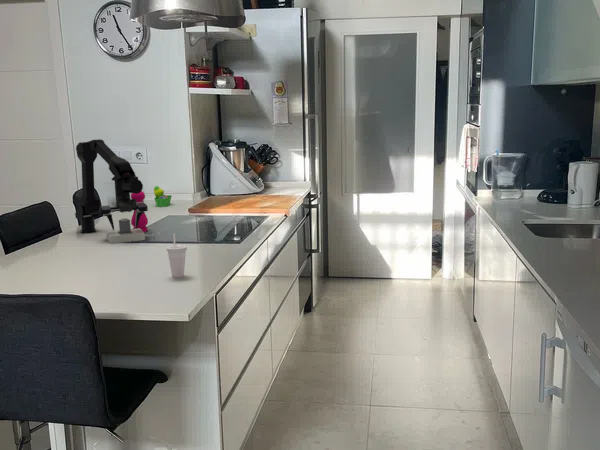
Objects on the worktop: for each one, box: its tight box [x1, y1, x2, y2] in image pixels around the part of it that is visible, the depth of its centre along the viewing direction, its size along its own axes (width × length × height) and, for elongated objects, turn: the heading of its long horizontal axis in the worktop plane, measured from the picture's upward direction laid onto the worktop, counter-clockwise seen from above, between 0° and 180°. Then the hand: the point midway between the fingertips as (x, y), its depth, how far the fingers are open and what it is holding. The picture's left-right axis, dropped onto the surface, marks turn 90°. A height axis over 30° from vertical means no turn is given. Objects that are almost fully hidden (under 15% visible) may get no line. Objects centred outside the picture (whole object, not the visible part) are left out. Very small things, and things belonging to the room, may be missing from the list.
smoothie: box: [166, 233, 188, 279], centre depth 191 cm, size 6×6×14 cm
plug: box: [118, 218, 132, 234], centre depth 249 cm, size 4×4×9 cm
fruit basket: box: [153, 185, 173, 208], centre depth 339 cm, size 11×9×11 cm
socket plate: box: [105, 228, 146, 244], centre depth 250 cm, size 12×14×3 cm
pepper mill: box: [130, 190, 149, 233], centre depth 264 cm, size 7×7×20 cm
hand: (125, 229), depth 249 cm, fingers open, 9 cm apart
